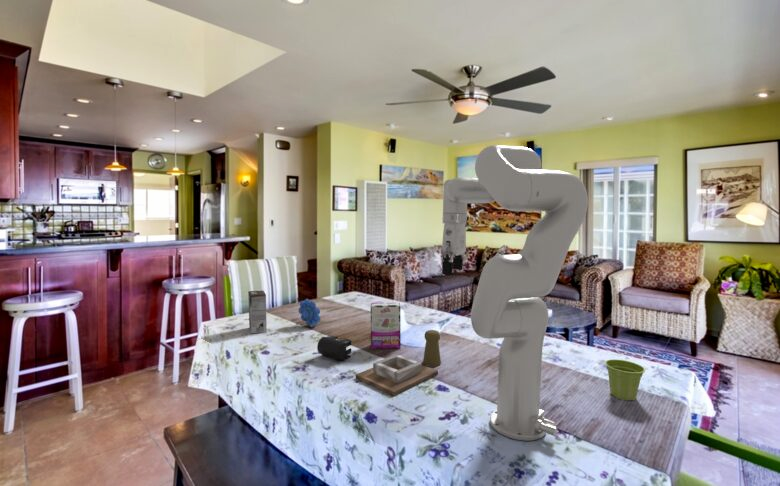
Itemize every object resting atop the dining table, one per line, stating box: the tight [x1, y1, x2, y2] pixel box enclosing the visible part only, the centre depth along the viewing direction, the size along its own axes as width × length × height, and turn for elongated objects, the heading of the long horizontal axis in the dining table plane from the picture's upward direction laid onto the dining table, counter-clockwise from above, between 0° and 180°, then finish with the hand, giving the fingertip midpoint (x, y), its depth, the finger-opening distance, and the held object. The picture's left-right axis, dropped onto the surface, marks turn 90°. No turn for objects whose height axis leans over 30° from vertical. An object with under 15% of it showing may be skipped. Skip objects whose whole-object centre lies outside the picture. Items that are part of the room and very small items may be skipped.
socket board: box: [355, 353, 439, 397], centre depth 118 cm, size 16×20×4 cm
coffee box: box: [248, 290, 267, 334], centre depth 163 cm, size 9×6×16 cm
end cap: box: [316, 335, 352, 361], centre depth 133 cm, size 10×7×7 cm
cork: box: [422, 329, 442, 367], centre depth 128 cm, size 6×6×11 cm
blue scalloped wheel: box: [297, 298, 322, 327], centre depth 168 cm, size 12×7×12 cm, turn 65°
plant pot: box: [604, 359, 646, 401], centre depth 106 cm, size 9×9×9 cm
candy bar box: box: [370, 302, 402, 350], centre depth 143 cm, size 11×5×16 cm, turn 92°
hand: (452, 271), depth 123 cm, fingers open, 9 cm apart
